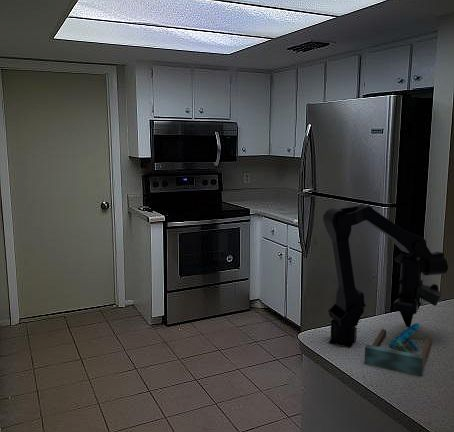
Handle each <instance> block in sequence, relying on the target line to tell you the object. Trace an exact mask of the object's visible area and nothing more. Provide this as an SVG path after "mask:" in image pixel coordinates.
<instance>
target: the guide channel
mask: <svg viewBox="0 0 454 432" xmlns="http://www.w3.org/2000/svg"><path fill="white" fill-rule="evenodd" d="M386 336H387V329H386V328H385V329H381V330H380V331H379V333H378V335H377V336H376V338H375V339H374V341H373V343H372V344H366V345H365V346H364V361H363V362H364V364H366V365H370V366H373V365H374V367H378V368H382V369H386V370H387V369H388V370H392V369H393V371H396V370H398V371H397V372H401V371H402V373H406V374H410V375H411V374H412V375H416V376H419V377H422V375H423V372H424V369H425V365H426V362H427V359H428V357H429V353H430V351H431V347H432V342H433V338H432V337H429V336H428V337H426V340H425V342H424V346H423V347H422V351H421V353H420V354H417V353H411V352H409V353H407V352H405V351H402V350H396V349H391V348H387V347H382V346H381V345H382V344H383V342H384V340H385V338H386ZM381 343H382V344H381Z"/></svg>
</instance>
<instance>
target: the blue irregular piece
mask: <svg viewBox="0 0 454 432" xmlns="http://www.w3.org/2000/svg"><path fill="white" fill-rule="evenodd" d="M419 328H420V324H419V323H418V322H417V323H414V324H413V325H412V324H411V326H410V327H406V329H405V330H403V331H401V332H400V334H399V335H397V336H396V337H394V339H393V340H391V341H390V344H389V346H390V348H395V347H396V346H398V347H399V349H400V350H403V352H407V353H410V352H409V350H408V349H407V348H406V346H407V345H408V344H409V345H410V346H411V347H412V348H413V350H416V351H417V350H419V347H418V346H417V345H416V344H415V343H414V342H413V341H412V337H410V336H412V335H413V334H415V331H417V330H419Z"/></svg>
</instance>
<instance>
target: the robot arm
mask: <svg viewBox="0 0 454 432" xmlns="http://www.w3.org/2000/svg"><path fill="white" fill-rule="evenodd" d="M322 221H323V225H324V227H325V230H326V233H327V234H328V236H329V238H330V240H331V243H332V244H331V245H332V249H333V250H332V251H333V257H334V263H335V269H336V270H335V271H336V277H337V283H338V289H337V292H336V295H335V303H334V304H333V305H332V306H331V307H330V308H329V310H328V311H327V312H328V313H327V314H328V316H329V317H330V318H331V321H330V339H329V340H328V343H329V344H332V345H336V346H340V347H341V346H342V347H345V348H346V347H347V348H351V347H352V346H353V345H354V344H355V343H356V341H357V329H358V327H357V326H358V324H359V321H360V319H361V317H362V316H363V315H364V313H365V308H366V307H367V306H366V303H365V295H364V294H365V293H364V292H363V291H361V290H359V289H357V287H356V283H355V277H354V269H353V261H352V254H351V248H350V241H349V240H350V237H351V234H352V228H353V227H352V226H355V225H359V224H361V223H363V222H366V223H368V224H369V225H371V226H372V227H373V228H376V229H377V230H378V231H379V232H380V233H382V234H384V235H386V237H388V238H390V240H391V241H392V242H393V244H394V245H395V246H396V247H397V248H398V249H399V250H400V251H402V252H404V253H407V254H410V255H405V254H404V253H401V252H400V253H399V254H398V255H397V256H395V257H394V261H395V262H397V263H399V264H400V278H399V279H398V284H399V292H398V294H397V296H398V299H396V300H395V301H394V302H393V305H392V310H393V311H394V312H399V313H400V315H401V317H402V320H403V322H404V325H405V328H408V327H410V326H412V322H413V318H414V316H415V315H416V314H417V312H418V311H419V310H420V307H421V305H422V302H419V301H421V300H423V301H425V302H428V303H430V305H432V306H435V307H436V306H437V305H438V303H439V301H440V299H441V297H442V291H441V290H440V289H439V285H438V284H436V283H432V284H430V285H425V284H424V280H423V278H422V275H424V276H441V275H442V276H443V275H446V274H447V272H448V270H449V265H448V261H447V260H446V258H445V256H444V255H445V254H444V252H442V251H435V252H431V251H430V249H429V247H428V246H427V240H426V239H425V238H424V237H422V236H420V235H418V234H415V233H412V232H411V231H408V230H405V229H403V228H401V227H400V226H399V225H397V224H396V223H394V222H393V221H391V220H390V219H388V218H387V217H385V216H384V215H382V214H381V213H380V212H378V211H376V210H375V209H374V208H373V207H372V205H371V206H370V205H366V204H359V205H356V206H350V207H344V208H343V207H341V208H336V207H331V208H328V209H326V211H325V213H323V216H322Z"/></svg>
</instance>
